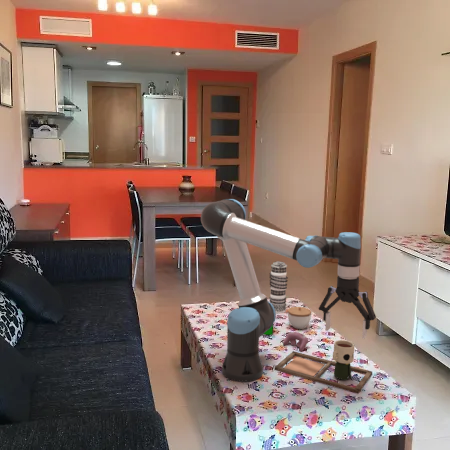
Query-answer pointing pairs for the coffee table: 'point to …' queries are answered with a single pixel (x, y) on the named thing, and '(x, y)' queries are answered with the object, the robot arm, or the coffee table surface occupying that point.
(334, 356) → the character mug
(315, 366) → the rail frame
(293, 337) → the video game controller
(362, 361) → the coffee table surface
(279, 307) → the decorative candle
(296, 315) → the lidded jar
